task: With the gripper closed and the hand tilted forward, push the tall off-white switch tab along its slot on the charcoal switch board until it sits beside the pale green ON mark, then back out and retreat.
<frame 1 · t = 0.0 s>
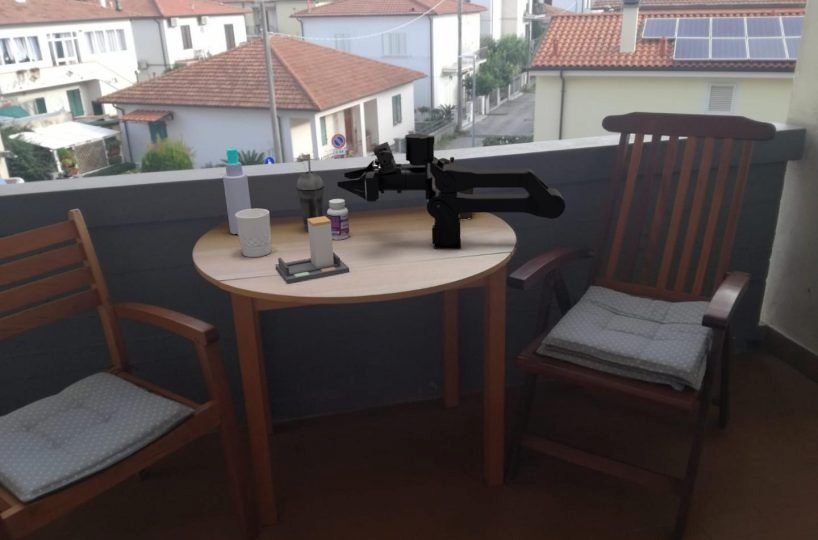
hand: (341, 179, 150), 17 cm above the table, tool horizontal, fingers open, 9 cm apart
pill bottle: (339, 237, 162), on the table
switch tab: (320, 241, 139), point 6 cm above the table, slide at 0.0 cm
spray bottle: (242, 232, 168), on the table
beverage cup: (313, 230, 168), on the table
white cup: (257, 253, 152), on the table
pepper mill: (451, 218, 175), on the table
switch board: (312, 270, 141), on the table
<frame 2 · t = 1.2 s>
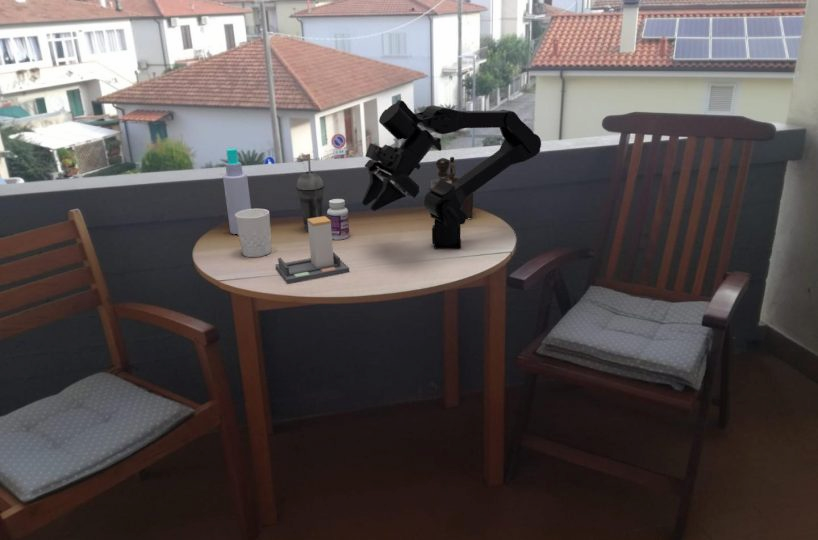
hand: (367, 207, 142), 13 cm above the table, tool tilted 45°, fingers open, 5 cm apart
nothing on the table moved.
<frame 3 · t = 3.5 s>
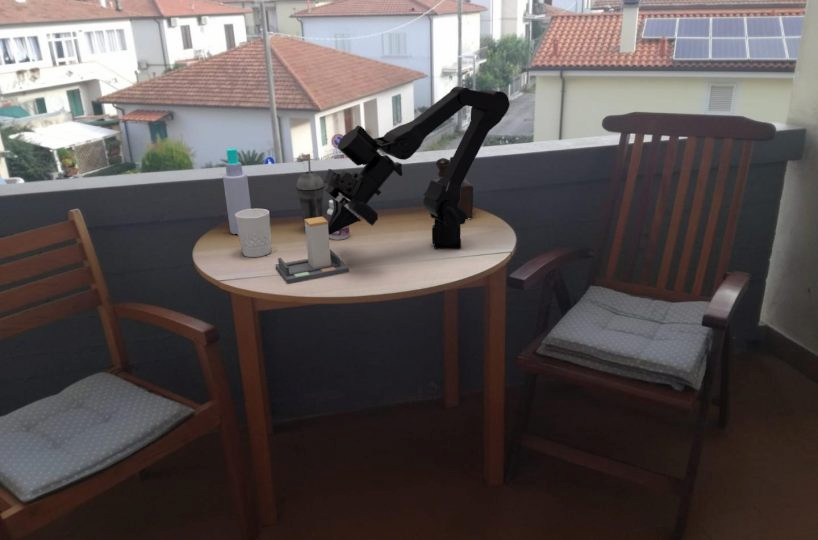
hand: (327, 233, 139), 8 cm above the table, tool tilted 45°, fingers closed, pressing on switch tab
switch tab: (317, 242, 139), point 6 cm above the table, slide at 0.7 cm, touching gripper
everything else where it was.
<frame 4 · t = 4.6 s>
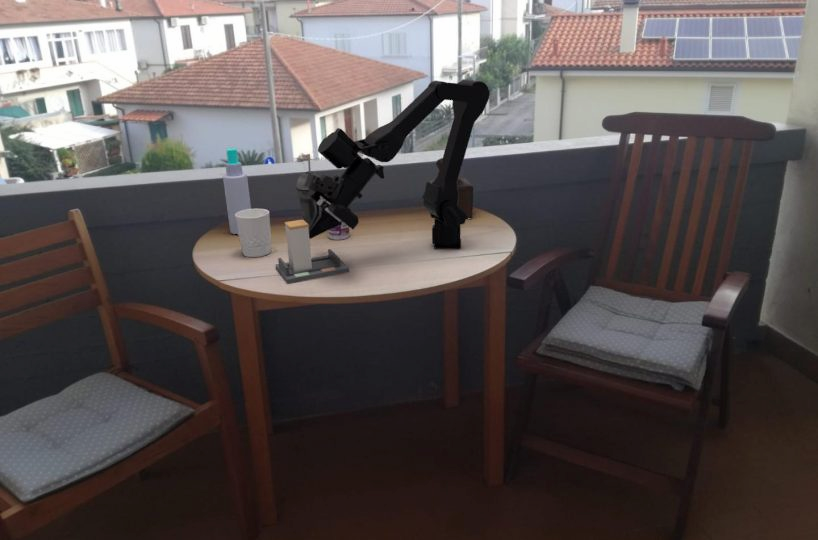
hand: (308, 237, 138), 8 cm above the table, tool tilted 45°, fingers closed
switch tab: (298, 245, 137), point 6 cm above the table, slide at 5.1 cm
everything else where it was.
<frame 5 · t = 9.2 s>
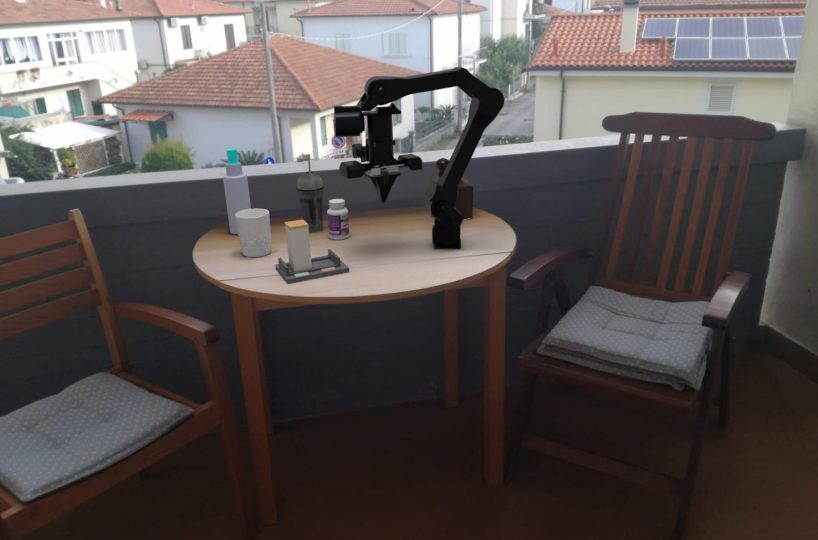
hand: (382, 202, 147), 12 cm above the table, tool pointing down, fingers closed
nothing on the table moved.
at the end: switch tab slide at 5.1 cm; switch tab touching nothing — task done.
